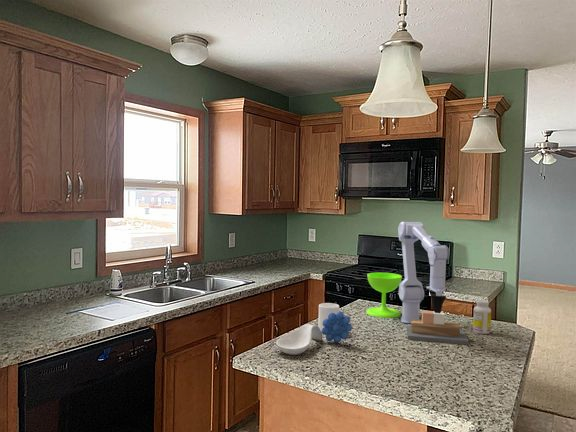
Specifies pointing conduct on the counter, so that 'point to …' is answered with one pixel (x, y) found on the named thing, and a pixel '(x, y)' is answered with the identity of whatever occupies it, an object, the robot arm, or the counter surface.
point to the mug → (326, 312)
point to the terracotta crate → (427, 317)
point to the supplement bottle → (482, 317)
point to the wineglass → (384, 293)
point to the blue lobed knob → (336, 327)
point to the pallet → (435, 328)
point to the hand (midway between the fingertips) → (436, 310)
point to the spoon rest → (299, 339)
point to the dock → (437, 337)
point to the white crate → (438, 318)
